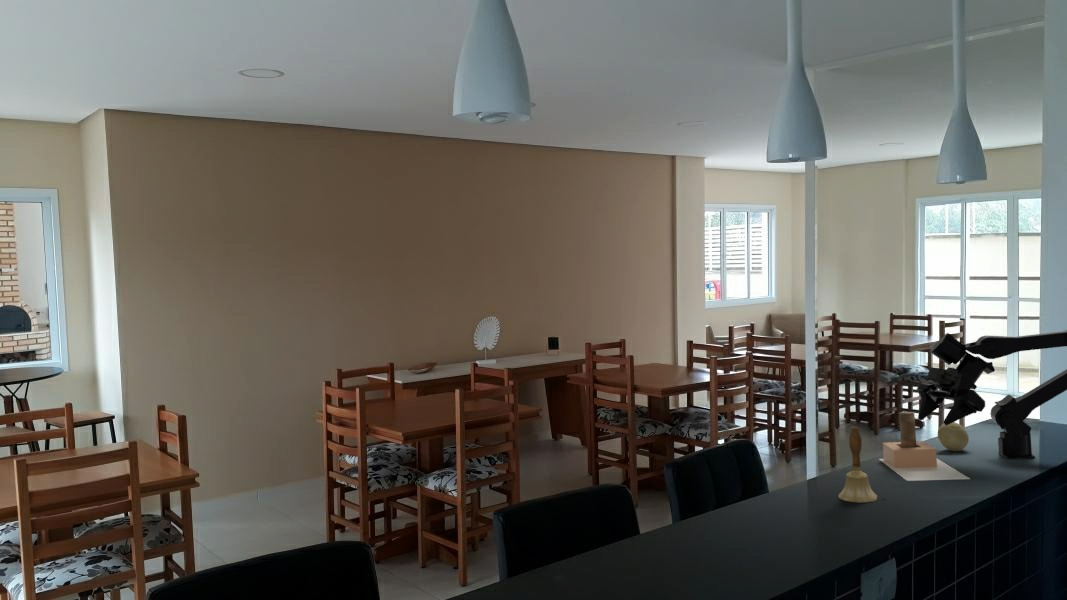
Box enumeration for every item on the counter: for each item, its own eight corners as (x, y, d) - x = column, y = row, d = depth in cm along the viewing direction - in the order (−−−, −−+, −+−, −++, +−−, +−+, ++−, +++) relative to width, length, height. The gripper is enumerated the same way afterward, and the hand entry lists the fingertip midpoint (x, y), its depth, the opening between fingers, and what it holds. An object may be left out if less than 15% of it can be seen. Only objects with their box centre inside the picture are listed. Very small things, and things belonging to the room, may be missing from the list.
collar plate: (934, 458, 210) (933, 440, 210) (970, 480, 186) (969, 459, 186) (878, 460, 212) (877, 442, 212) (907, 482, 188) (905, 461, 188)
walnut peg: (914, 461, 206) (911, 411, 206) (919, 464, 203) (916, 413, 203) (900, 461, 207) (897, 412, 207) (904, 464, 203) (901, 414, 203)
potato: (934, 452, 217) (932, 423, 217) (945, 447, 223) (943, 418, 223) (963, 455, 212) (961, 425, 212) (974, 449, 217) (972, 420, 217)
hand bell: (871, 492, 182) (866, 423, 182) (883, 502, 174) (878, 429, 174) (833, 494, 183) (829, 425, 183) (844, 503, 175) (839, 431, 174)
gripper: (920, 353, 217) (887, 397, 214) (973, 358, 199) (937, 406, 196) (946, 380, 219) (914, 423, 216) (1001, 386, 200) (966, 434, 198)
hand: (931, 421), depth 207 cm, fingers open, 9 cm apart
